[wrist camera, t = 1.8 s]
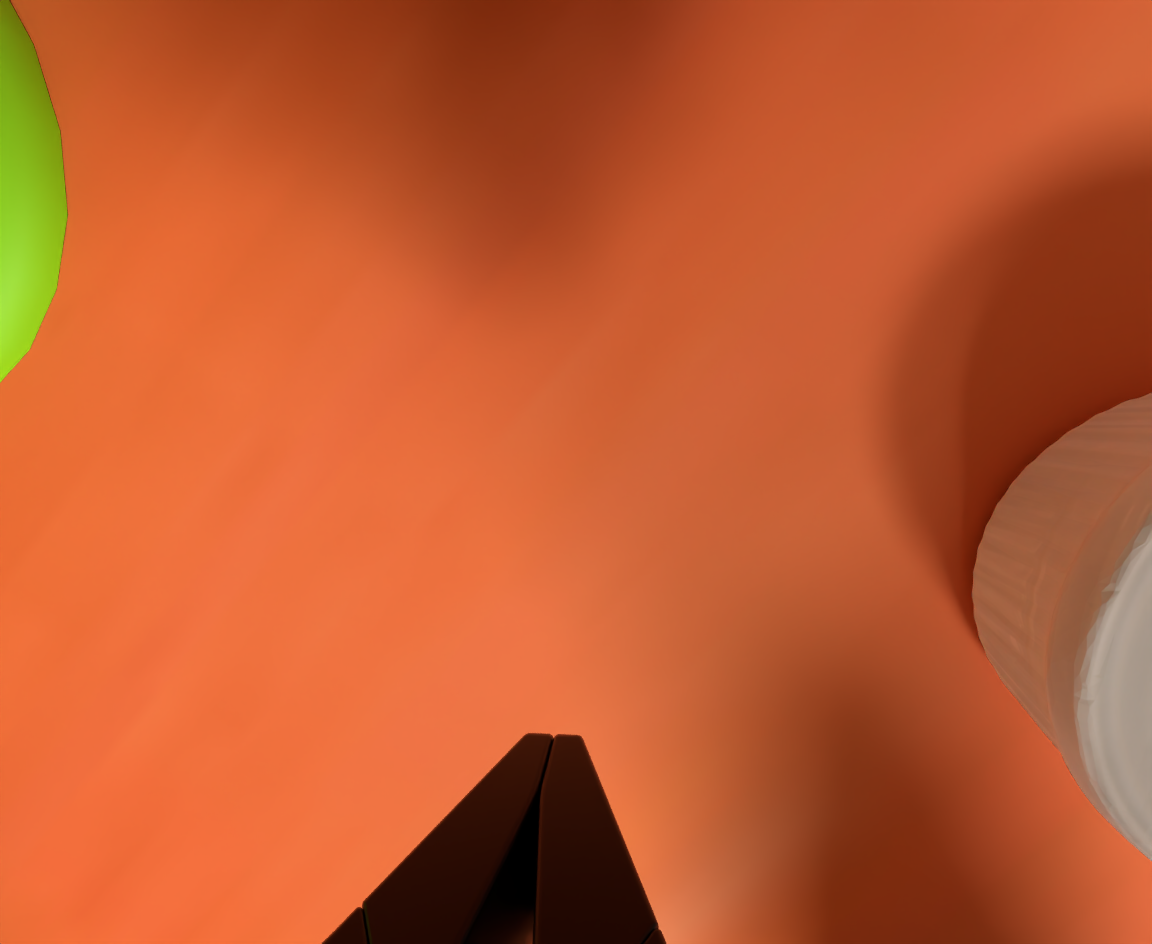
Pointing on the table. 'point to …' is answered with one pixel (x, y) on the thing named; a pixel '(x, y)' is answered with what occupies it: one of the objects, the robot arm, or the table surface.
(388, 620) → the table surface
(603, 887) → the robot arm
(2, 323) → the wineglass
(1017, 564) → the ramekin
